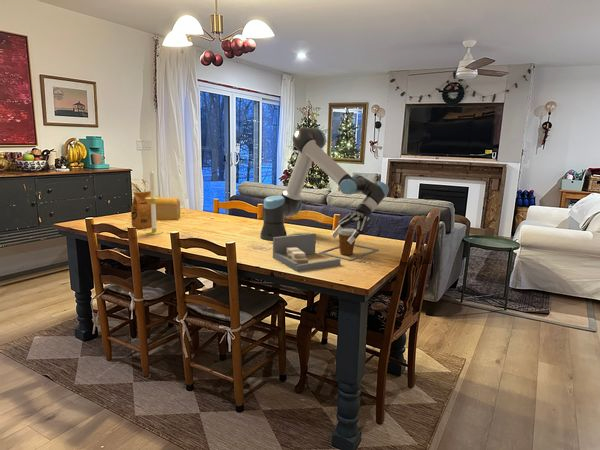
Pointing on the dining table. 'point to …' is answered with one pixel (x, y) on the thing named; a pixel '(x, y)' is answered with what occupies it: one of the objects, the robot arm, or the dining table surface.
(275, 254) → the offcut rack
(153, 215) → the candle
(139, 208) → the coffee package
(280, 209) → the robot arm
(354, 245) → the empty picture frame
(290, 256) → the offcut stack
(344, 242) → the disposable coffee cup
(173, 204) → the bread
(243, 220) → the dining table surface
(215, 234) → the dining table surface
